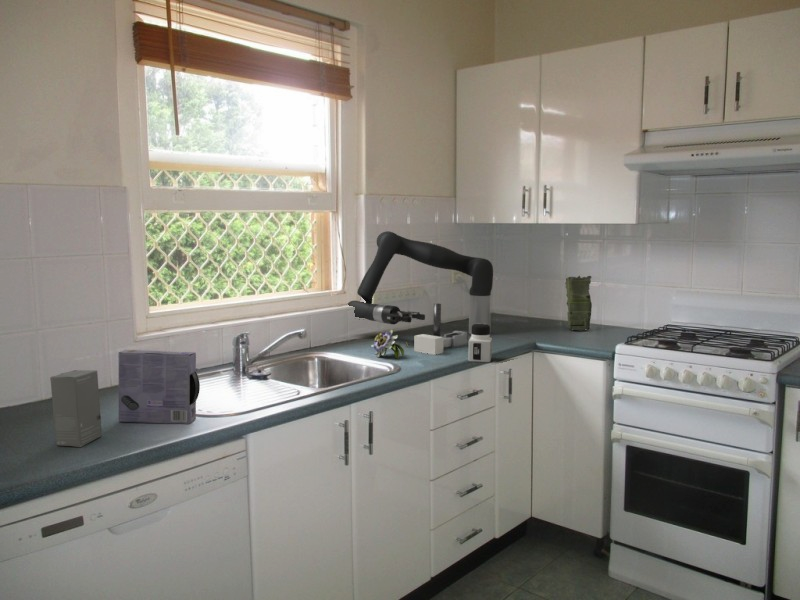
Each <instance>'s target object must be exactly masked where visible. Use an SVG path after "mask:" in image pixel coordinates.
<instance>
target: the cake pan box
mask: <svg viewBox="0 0 800 600" xmlns="http://www.w3.org/2000/svg"><path fill="white" fill-rule="evenodd" d="M196 367H197V353H196V352H195V351H171V350H170V351H167V350H141V349H139V350H138V349H137V350H136V349H124V350H122V351H119V352H118V423H143V424H144V423H145V424H183V425H191V423H193V422H194V421H195V420H196V419H197V399H198V397H199V394H200V390H201V389H200V386H201V385H200V379H199V376H198V372H197V368H196Z"/></svg>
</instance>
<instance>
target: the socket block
mask: <svg viewBox="0 0 800 600" xmlns="http://www.w3.org/2000/svg"><path fill="white" fill-rule="evenodd" d="M443 338H444V336H441V337H439V336H433V334H432V335H430V334H426V333H425V334H424V333H422V334H417V335H414V338H413V339H414V340H413V341H414V344H413V345H414V346H413V351H414V352H416V353H421V352H422V353H424V354H427V353H428V354H427V355H434V356H436V354H437V355H441V354H443V353H444V348H443ZM440 353H441V354H440Z"/></svg>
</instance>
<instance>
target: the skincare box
mask: <svg viewBox="0 0 800 600" xmlns="http://www.w3.org/2000/svg"><path fill="white" fill-rule="evenodd" d="M98 376H99V375H98V370H97V369H96V370H94V369H93V370H90V369H89V370H83V369H82V370H81V369H78V370H77V369H76V370H70V371H67V372H61V373H60V374H56V375H52V376H50V380H49V381H50V389H51V400H52V403H51V404H52V412H53V424H54V435H55V445H56V446H63V447H64V446H67V447H77V448H82V447H84V446H85V445H88V444H89V443H91V442H93V441H95V440H97V439H99V438H101V437H103V433H102V429H103V428H102V420H101V406H100V405H101V403H100V402H101V401H100V393H99V391H100V390H99V389H100V388H99V377H98Z"/></svg>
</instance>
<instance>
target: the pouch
mask: <svg viewBox="0 0 800 600" xmlns="http://www.w3.org/2000/svg"><path fill="white" fill-rule="evenodd" d="M592 278H593V277H592V276H591V275H588V276H583V277H581V275H578V276H577V277H576V276H569V277H566V278H565V288H566V297H567V300H566V301H567V302H566V305H567V326H568V328H569V327H570V328H569V330H570V329H573V330H585V329H588V328H591V325H590V324H591V318H592V307H593V305H592V304H593V303H592V300H591V294H590V284H591V282H592V281H591V279H592ZM588 330H589V329H588ZM585 331H586V330H585Z"/></svg>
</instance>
